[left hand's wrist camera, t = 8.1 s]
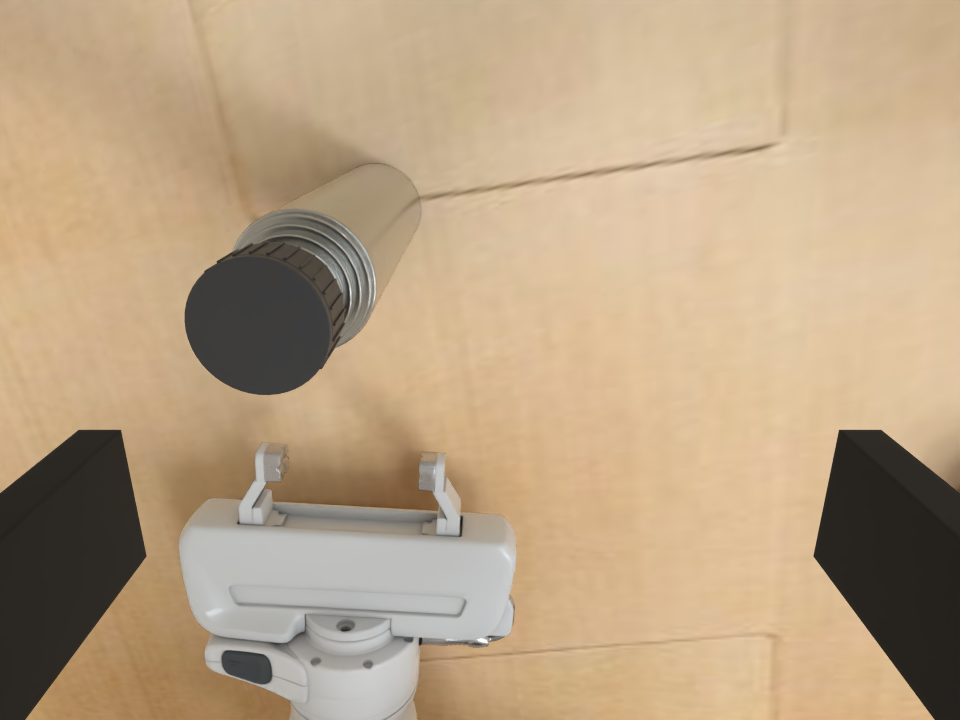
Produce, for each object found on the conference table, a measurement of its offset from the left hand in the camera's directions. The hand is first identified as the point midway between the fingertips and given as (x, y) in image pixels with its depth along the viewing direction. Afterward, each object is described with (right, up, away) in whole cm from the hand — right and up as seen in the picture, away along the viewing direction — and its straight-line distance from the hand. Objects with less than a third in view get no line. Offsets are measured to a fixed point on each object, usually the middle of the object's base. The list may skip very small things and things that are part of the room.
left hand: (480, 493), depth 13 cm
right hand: (-8, -3, +27) cm, 28 cm away
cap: (-6, +3, +7) cm, 10 cm away
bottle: (-6, +12, +29) cm, 32 cm away
